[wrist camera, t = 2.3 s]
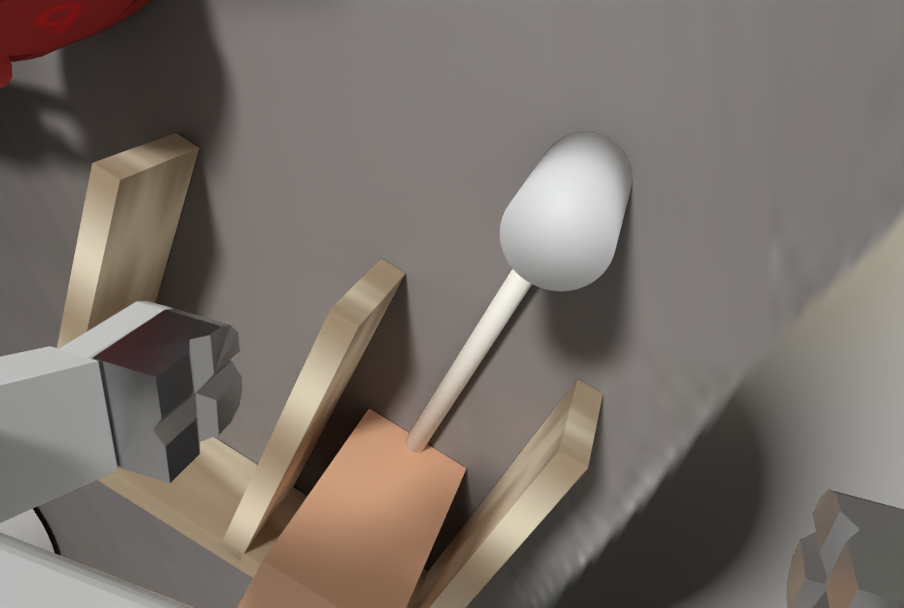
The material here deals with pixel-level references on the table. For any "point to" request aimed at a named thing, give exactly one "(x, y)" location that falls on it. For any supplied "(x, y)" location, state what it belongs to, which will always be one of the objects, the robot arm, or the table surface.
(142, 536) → the table surface
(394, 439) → the block
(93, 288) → the lane shelf
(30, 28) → the headphones
